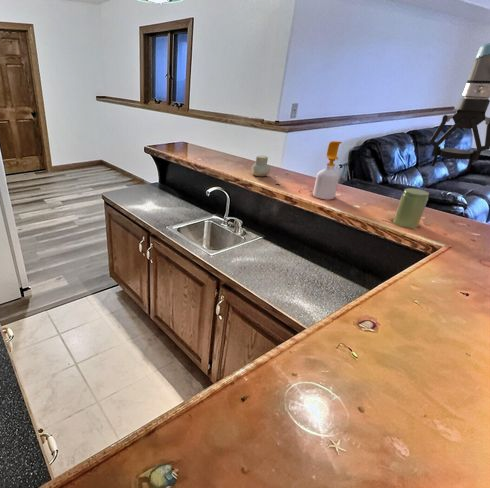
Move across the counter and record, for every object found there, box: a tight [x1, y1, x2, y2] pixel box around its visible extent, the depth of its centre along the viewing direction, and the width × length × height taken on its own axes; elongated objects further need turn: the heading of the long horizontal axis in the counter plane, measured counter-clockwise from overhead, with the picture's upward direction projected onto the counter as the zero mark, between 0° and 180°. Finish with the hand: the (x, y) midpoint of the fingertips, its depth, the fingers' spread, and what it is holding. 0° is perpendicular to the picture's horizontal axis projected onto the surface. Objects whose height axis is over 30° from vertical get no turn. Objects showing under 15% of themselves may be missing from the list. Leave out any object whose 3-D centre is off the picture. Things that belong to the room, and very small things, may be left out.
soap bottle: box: [312, 140, 343, 201], centre depth 152 cm, size 9×9×25 cm
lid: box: [438, 147, 473, 160], centre depth 120 cm, size 9×9×2 cm
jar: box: [392, 187, 430, 229], centre depth 128 cm, size 8×8×13 cm
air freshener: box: [250, 154, 271, 177], centre depth 186 cm, size 11×8×10 cm
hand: (449, 167), depth 122 cm, fingers closed on lid, 9 cm apart
